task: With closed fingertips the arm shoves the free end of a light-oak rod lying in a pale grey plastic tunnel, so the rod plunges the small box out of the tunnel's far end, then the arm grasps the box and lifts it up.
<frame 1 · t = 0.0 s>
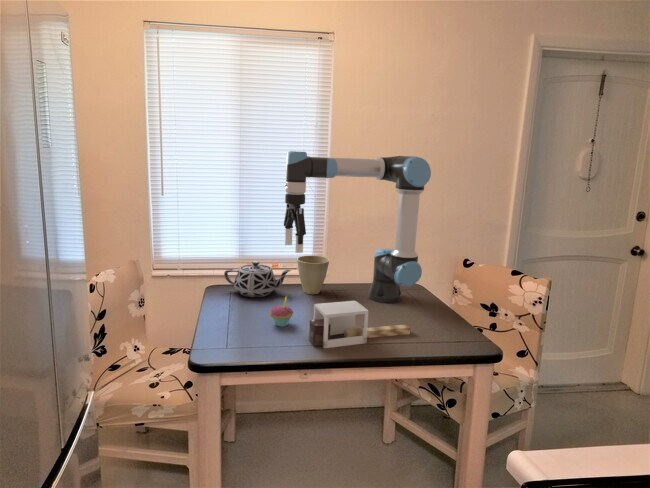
hand: (293, 248, 175), 28 cm above the table, fingers open, 13 cm apart
tunnel: (339, 339, 162), on the table
cupcake: (281, 324, 173), on the table
box: (319, 342, 158), on the table
teapot: (257, 293, 209), on the table
rod: (377, 336, 167), on the table
plant pot: (311, 292, 214), on the table
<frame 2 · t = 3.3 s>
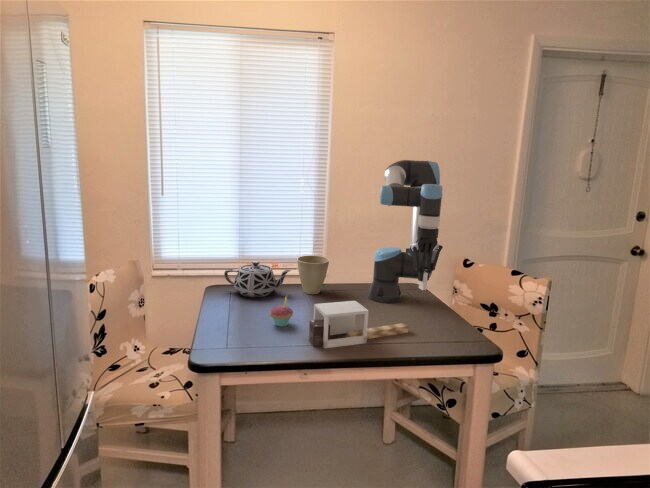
hand: (422, 289, 171), 16 cm above the table, fingers closed
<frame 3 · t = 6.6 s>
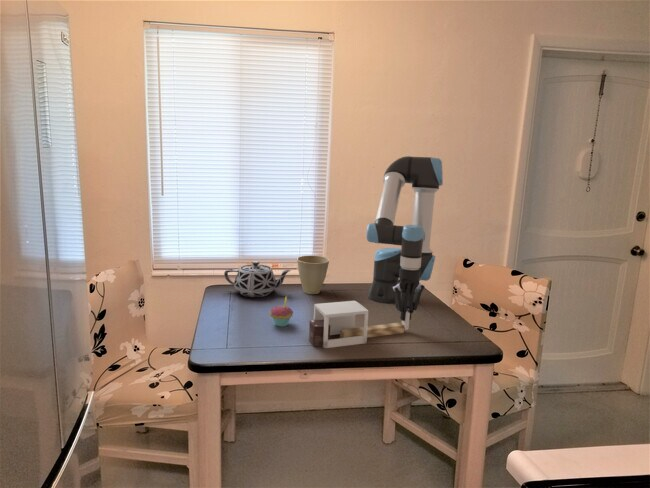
hand: (404, 328, 171), 1 cm above the table, fingers closed
rod: (372, 335, 167), on the table, touching gripper
everything else where it was.
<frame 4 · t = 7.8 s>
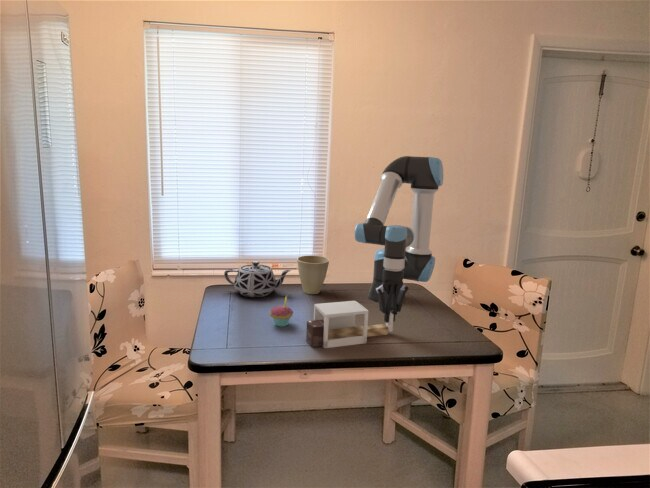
hand: (388, 330, 169), 1 cm above the table, fingers closed
box: (316, 343, 158), on the table, touching rod
rod: (355, 336, 165), on the table, touching box, gripper
everything else where it was.
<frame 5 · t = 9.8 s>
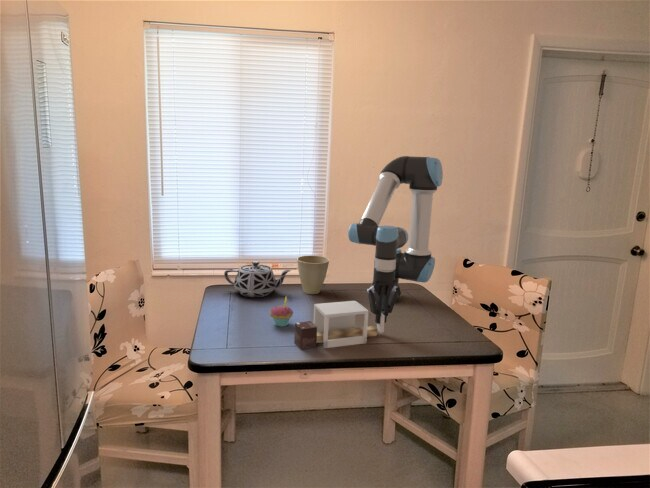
hand: (380, 331, 168), 1 cm above the table, fingers closed
box: (305, 345, 156), on the table
rod: (344, 338, 164), on the table
everything else where it was.
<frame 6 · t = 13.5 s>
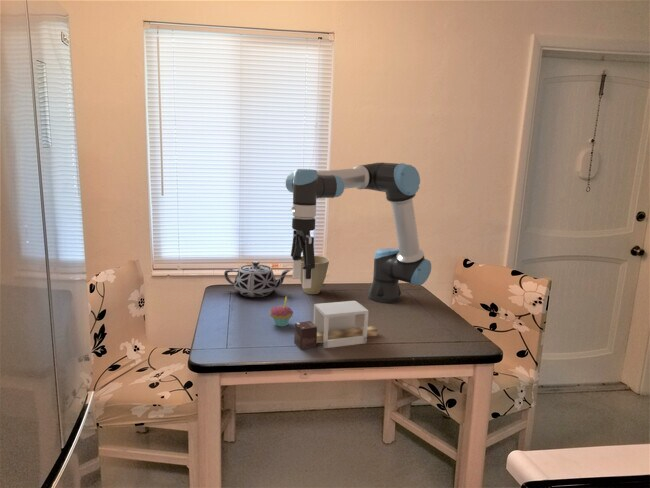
hand: (301, 283, 152), 22 cm above the table, fingers open, 10 cm apart
nothing on the table moved.
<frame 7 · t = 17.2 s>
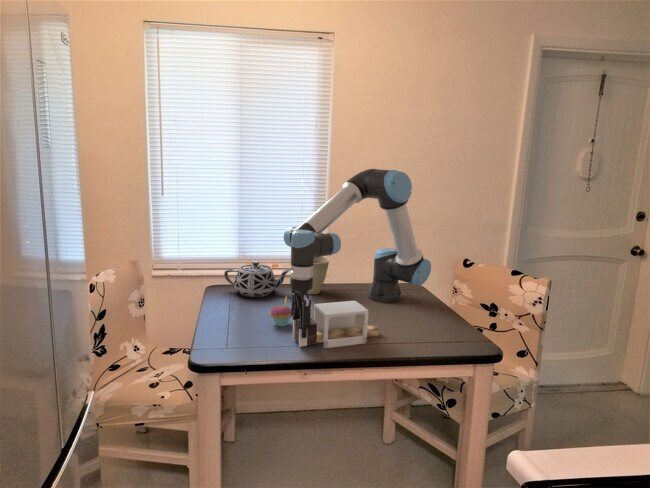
hand: (299, 341, 156), 1 cm above the table, fingers closed on box, 6 cm apart
box: (305, 342, 157), on the table, touching gripper, rod
rod: (345, 337, 164), on the table, touching box
everything else where it was.
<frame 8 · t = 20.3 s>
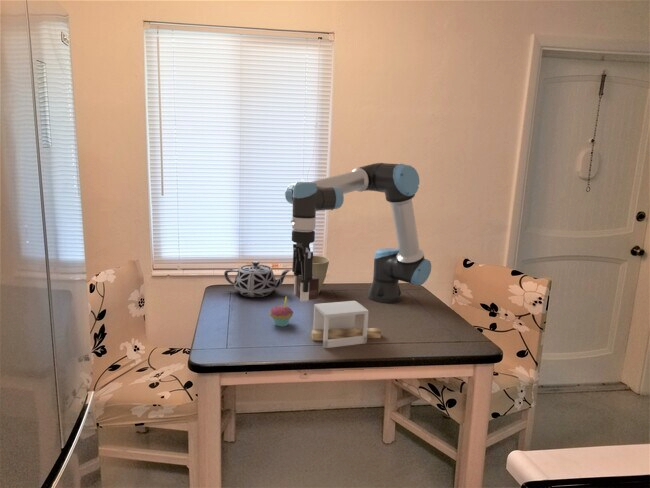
hand: (301, 297, 153), 17 cm above the table, fingers closed on box, 6 cm apart
box: (307, 298, 154), point 16 cm above the table, touching gripper
rod: (345, 338, 164), on the table
everything else where it was.
at the end: the gripper is holding box; box point 16.3 cm above the table; box inside the target area (4.2 cm from its centre), point 16.3 cm above the table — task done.
